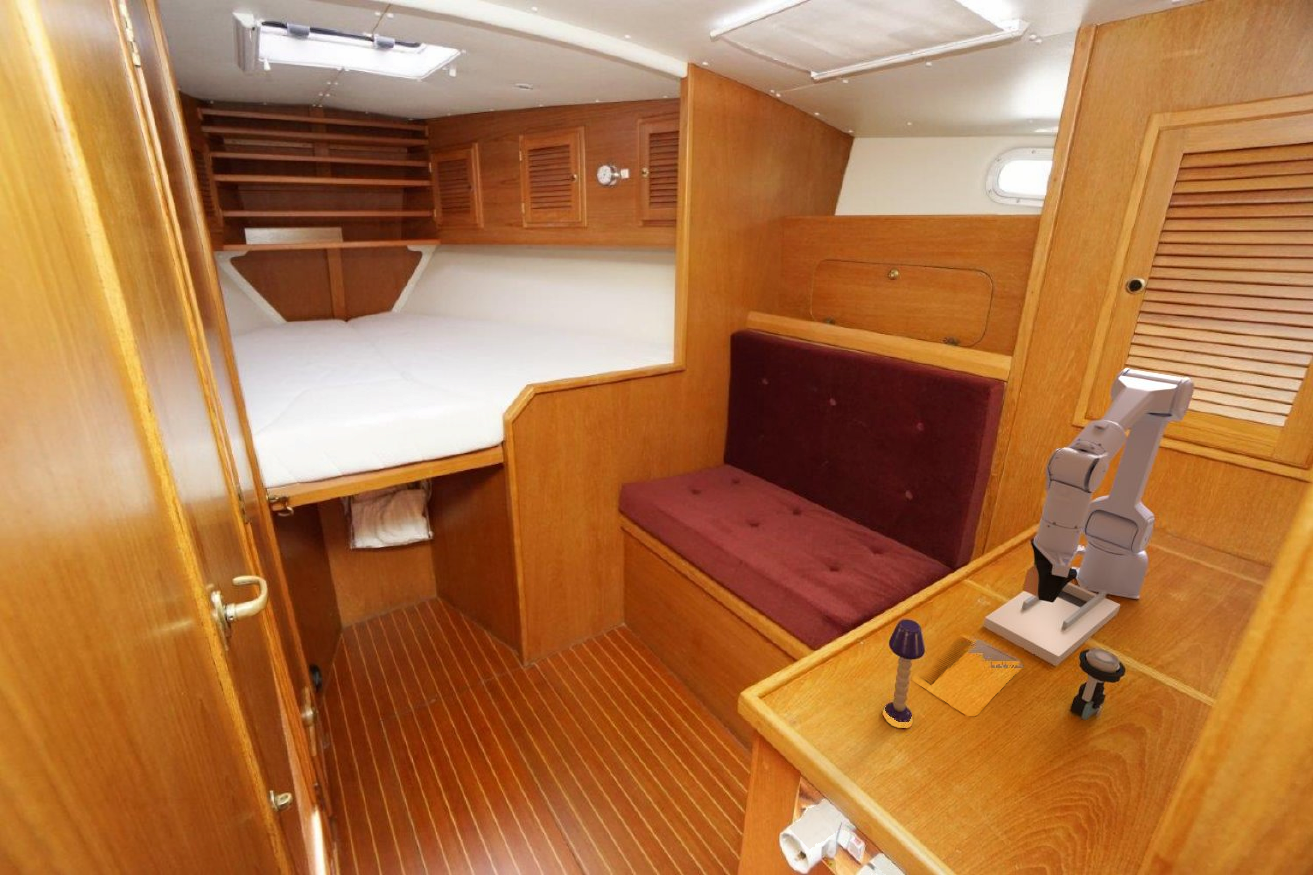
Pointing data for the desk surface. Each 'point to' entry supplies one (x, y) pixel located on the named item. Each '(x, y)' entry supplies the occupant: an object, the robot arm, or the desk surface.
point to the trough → (1052, 621)
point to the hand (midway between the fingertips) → (1043, 590)
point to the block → (1031, 581)
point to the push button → (1095, 680)
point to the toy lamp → (904, 665)
